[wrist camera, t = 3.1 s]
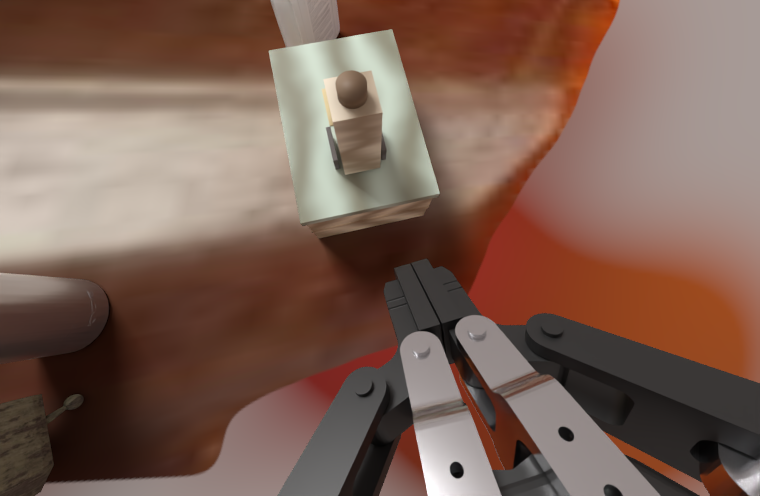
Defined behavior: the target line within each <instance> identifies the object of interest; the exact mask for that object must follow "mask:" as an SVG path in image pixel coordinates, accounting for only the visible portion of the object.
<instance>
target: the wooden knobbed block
mask: <svg viewBox="0 0 760 496" xmlns="http://www.w3.org/2000/svg"><path fill="white" fill-rule="evenodd" d="M323 81H324V85H325V89H326V94H327V98H328V103H329V107H330V112H331V116H332V121H333V125H334V129H335V134H336V138H337V142H338V147H339V151H340V155H341V160H342V164H343V168H344V173H345V175H347V174H352V173H357V172H362V171H367V170H372V169H377V168H380V163H381V139H382V115H383V112H382V108H381V105H380V101H379V97H378V93H377V89H376V86H375V82H374V78H373V74H372V71H365V72H358V71H353V70H349V71H345V72H343V73H341V74H340V75H339V76H338V77H332V78H327V79H323Z"/></svg>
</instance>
